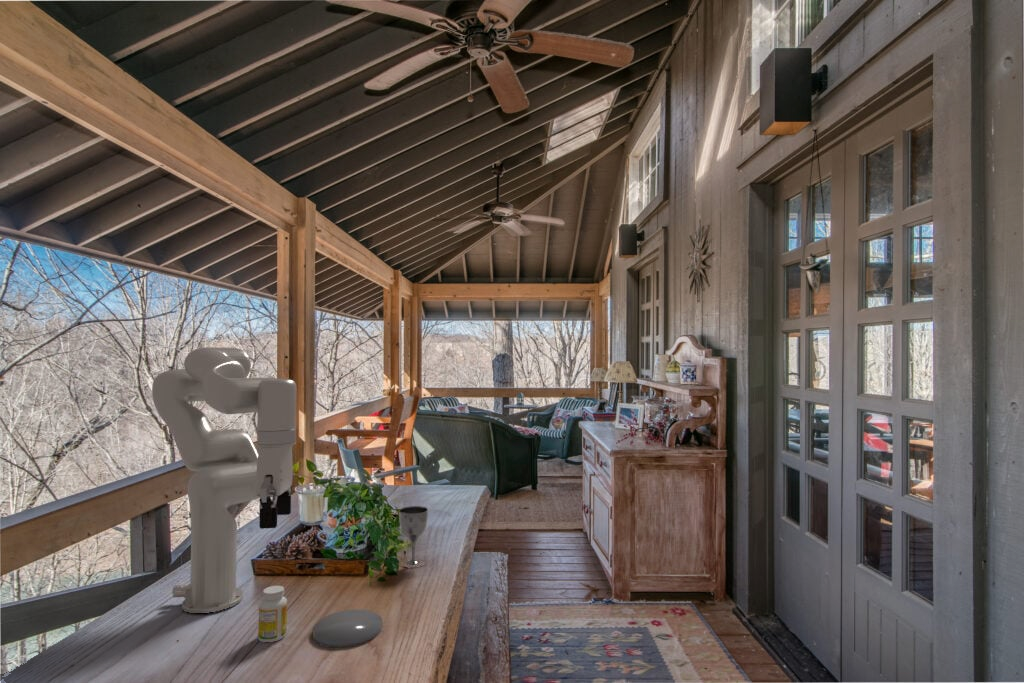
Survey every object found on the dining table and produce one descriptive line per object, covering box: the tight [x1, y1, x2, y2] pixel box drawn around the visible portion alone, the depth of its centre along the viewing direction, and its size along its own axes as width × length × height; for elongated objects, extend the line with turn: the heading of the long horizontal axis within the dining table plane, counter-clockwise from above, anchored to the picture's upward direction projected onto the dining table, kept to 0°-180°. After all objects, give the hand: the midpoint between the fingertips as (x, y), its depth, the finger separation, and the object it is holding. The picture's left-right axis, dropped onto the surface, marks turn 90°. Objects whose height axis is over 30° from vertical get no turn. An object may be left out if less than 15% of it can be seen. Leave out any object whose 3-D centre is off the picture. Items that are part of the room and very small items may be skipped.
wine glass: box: [398, 505, 429, 565], centre depth 153 cm, size 8×8×15 cm
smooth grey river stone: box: [312, 608, 383, 649], centre depth 115 cm, size 14×14×1 cm
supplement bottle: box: [257, 585, 288, 643], centre depth 112 cm, size 5×5×10 cm
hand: (275, 520), depth 113 cm, fingers open, 9 cm apart
